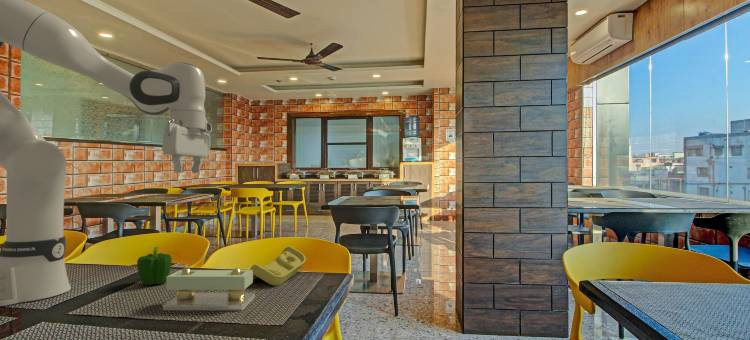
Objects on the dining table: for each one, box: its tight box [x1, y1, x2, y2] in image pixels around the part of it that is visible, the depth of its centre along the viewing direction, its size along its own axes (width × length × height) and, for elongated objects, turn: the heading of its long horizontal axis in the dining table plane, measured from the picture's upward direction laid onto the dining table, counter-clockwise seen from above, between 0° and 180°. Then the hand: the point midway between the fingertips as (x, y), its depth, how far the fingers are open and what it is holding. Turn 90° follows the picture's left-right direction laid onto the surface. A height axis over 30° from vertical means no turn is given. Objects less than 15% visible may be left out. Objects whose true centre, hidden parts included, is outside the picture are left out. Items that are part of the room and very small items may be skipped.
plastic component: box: [249, 246, 307, 287], centre depth 116 cm, size 20×7×10 cm
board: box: [165, 269, 254, 291], centre depth 92 cm, size 18×6×3 cm, turn 90°
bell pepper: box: [136, 246, 173, 286], centre depth 109 cm, size 8×8×10 cm
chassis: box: [162, 267, 256, 311], centre depth 92 cm, size 18×9×8 cm, turn 90°
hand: (187, 172), depth 107 cm, fingers open, 8 cm apart
